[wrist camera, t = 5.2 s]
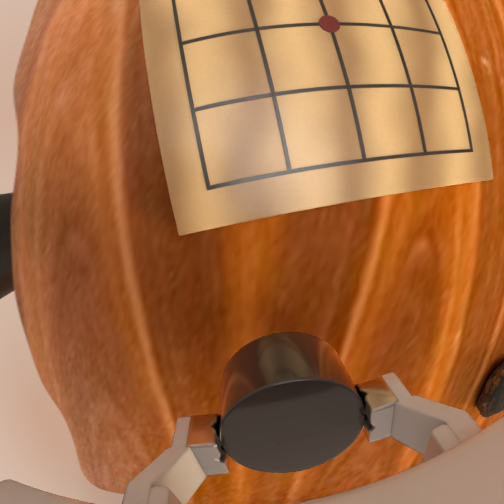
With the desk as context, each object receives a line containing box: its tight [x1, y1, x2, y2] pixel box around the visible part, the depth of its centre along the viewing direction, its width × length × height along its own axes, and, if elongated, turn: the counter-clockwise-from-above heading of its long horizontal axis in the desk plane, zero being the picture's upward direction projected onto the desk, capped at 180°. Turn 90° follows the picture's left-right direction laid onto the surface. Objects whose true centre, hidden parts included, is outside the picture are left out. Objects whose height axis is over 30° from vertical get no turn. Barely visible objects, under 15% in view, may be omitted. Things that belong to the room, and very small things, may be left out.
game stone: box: [219, 332, 365, 473], centre depth 10 cm, size 5×5×3 cm
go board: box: [139, 0, 493, 236], centre depth 13 cm, size 20×20×2 cm
